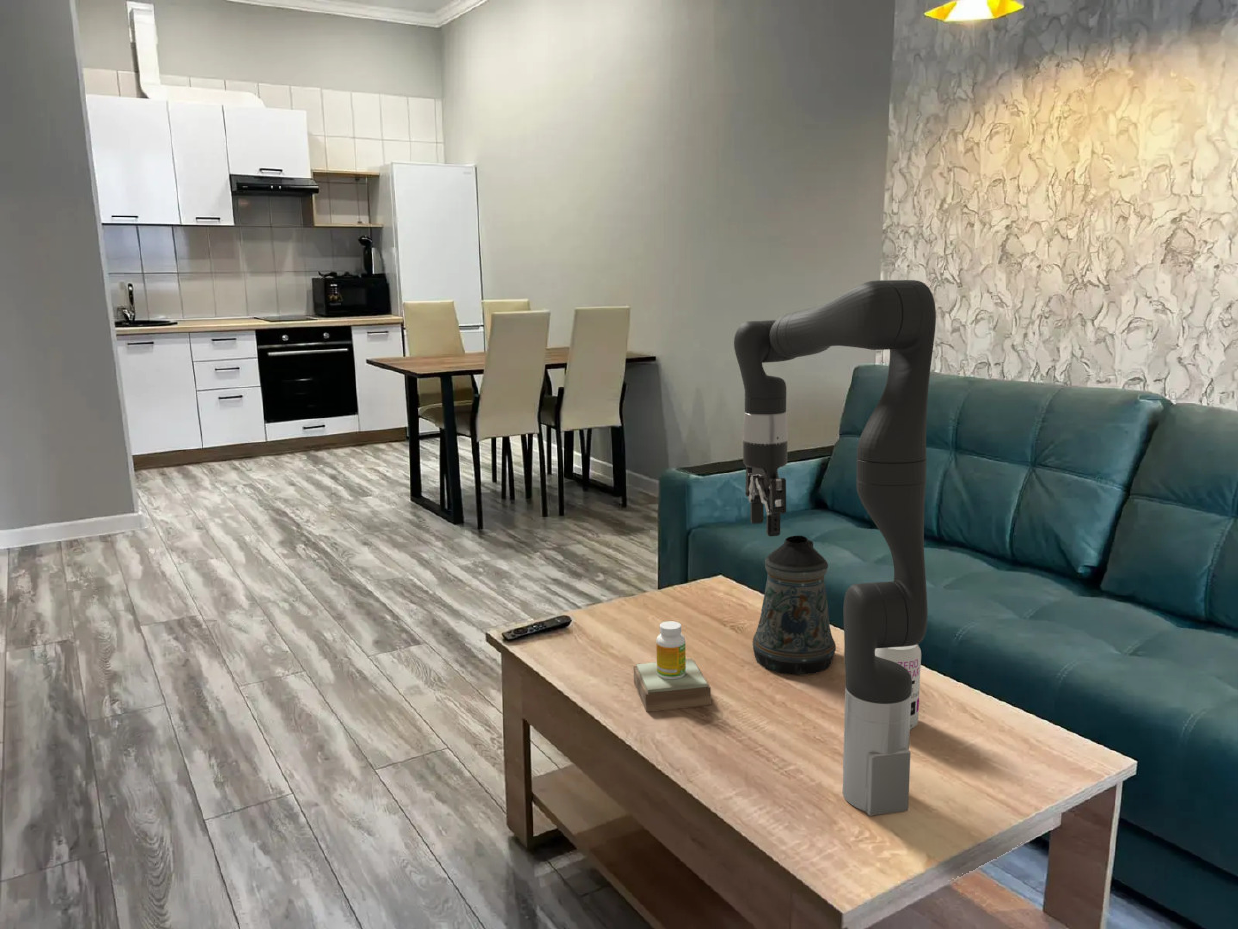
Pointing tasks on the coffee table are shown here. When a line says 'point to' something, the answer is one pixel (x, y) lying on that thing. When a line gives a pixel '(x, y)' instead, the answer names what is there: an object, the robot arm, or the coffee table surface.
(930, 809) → the coffee table surface
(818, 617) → the painted ceramic vase
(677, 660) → the supplement bottle
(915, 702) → the supplement can
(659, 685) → the plinth
